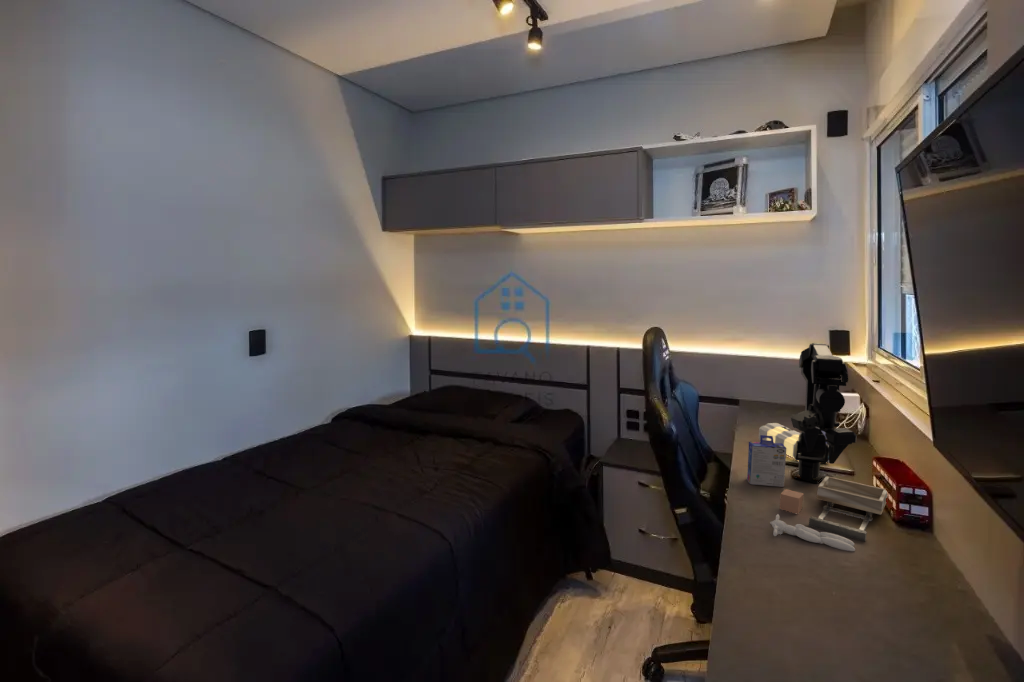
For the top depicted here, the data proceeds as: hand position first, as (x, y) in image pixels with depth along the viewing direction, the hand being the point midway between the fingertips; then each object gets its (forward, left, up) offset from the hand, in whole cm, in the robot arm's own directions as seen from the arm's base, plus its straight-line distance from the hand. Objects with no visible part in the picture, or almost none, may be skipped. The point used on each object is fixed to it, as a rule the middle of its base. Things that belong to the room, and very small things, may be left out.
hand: (820, 457), depth 146 cm
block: (+10, -4, -13) cm, 17 cm away
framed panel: (+3, +8, -13) cm, 16 cm away
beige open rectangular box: (-2, +8, -13) cm, 15 cm away
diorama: (-42, -17, -14) cm, 47 cm away
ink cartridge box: (-5, -15, -13) cm, 21 cm away
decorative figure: (+25, +4, -14) cm, 29 cm away
